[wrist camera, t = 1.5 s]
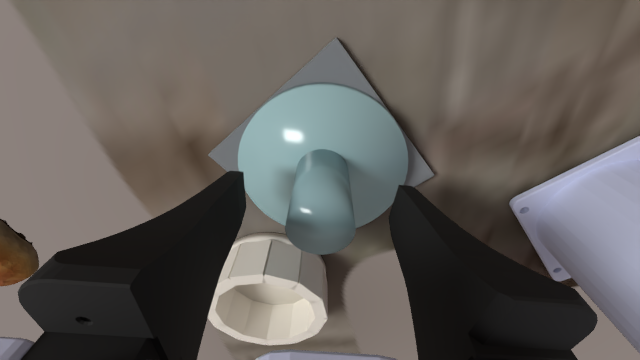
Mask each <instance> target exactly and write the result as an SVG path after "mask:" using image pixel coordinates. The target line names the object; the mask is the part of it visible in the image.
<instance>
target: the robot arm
mask: <svg viewBox="0 0 640 360" xmlns="http://www.w3.org/2000/svg"><path fill="white" fill-rule="evenodd" d="M509 205H510V207H511V209H512V211H513V212H514V214H515V216H516V217H517V219H518V221H519V223H520V224H521V226H522V228H523V229H524V231H525V233H526V235H527V236H528V238H529V240H530V241H531V243H532V245H533V247H534V248H535V250H536V252H537V253H538V255H539V257H540V259H541V260H542V262H543V264H544V266H545V267H546V269H547V271H548V272H549V274H550V276H551V277H552V278H553V280H552V279H550V278H548V277H545V276H543V275H541V274H539V273H537V272H535V271H533V270H531V269H529V268H527V267H525V266H523V265H520V264H519V263H517V262H515V261H513V260H511V259H509V258H507V257H506V256H504V255H502V254H500V253H499V252H497V251H495V250H493V249H492V248H490V247H488V246H487V245H485V244H484V243H482V242H481V241H479V240H478V239H476V238H475V237H473V236H472V235H470V234H469V233H467V232H466V231H465V230H463V229H462V228H461V227H459V226H458V225H457V224H456V223H454V222H453V221H452V220H450V219H449V218H448V217H447V216H446V215H444V214H443V213H442V212H441V211H440V210H439V209H437V208H436V207H435V206H434V205H433V204H432V203H431V202H430V201H429V200H427V199H426V198H425V197H424V196H423V195H422V194H421V193H420V192H419V191H417V190H416V189H415V188H414V187H413V186H407V185H399V186H398V189H397V192H396V196H395V199H394V202H393V206H392V209H391V212H390V216H389V224H390V230H391V236H392V240H393V243H394V247H395V250H396V253H397V257H398V259H399V263H400V266H401V269H402V273H403V276H404V279H405V283H406V287H407V292H408V297H409V302H410V307H411V313H412V319H413V325H414V331H415V338H416V345H417V352H418V360H578V359H577V358H576V357H575V355H574V354H573V352H572V351H571V349H572V348H573V347H574V346H575V345H577V344H578V343H579V342H580V341H582V340H583V339H584V338H585V337H587V336H588V335H589V334H590V333H591V332H592V331H593V330H594V328H595V326H596V324H597V315H596V313H595V312H594V311H593V310H592V309H591V308H590V306H589V305H588V304H587V303H586V302H585V300H584V299H583V298H582V297H581V296H580V295H579V293H578V292H577V291H576V290H575V289H573V288H571V287H569V286H566V285H564V284H562V283H559V282H557V281H563V280H566V279H569V278H571V277H572V278H573V279H574V281H575V282H576V283H577V284H578V285H579V286H580V287H581V288H582V289H583V291H584V292H585V293H586V294H587V295H588V296H589V297H590V298H591V300H592V301H593V302H594V303H595V304H596V305H597V306H598V307H599V309H600V310H601V311H602V312H603V313H604V314H605V315H606V316H607V318H608V319H609V320H610V321H611V322H612V323H613V324H614V325H615V327H616V328H617V329H618V330H619V331H620V332H621V333H622V334H623V336H624V337H626V339H627V340H628V341H629V342H630V343H631V345H632V346H633V347H634V348H635V349H636V350H637V351H638V352H639V353H640V136H638V137H636V138H634V139H632V140H630V141H628V142H626V143H624V144H622V145H619V146H617V147H615V148H613V149H611V150H609V151H607V152H605V153H603V154H601V155H599V156H597V157H595V158H593V159H591V160H589V161H587V162H585V163H583V164H581V165H579V166H577V167H575V168H572V169H570V170H568V171H566V172H564V173H562V174H560V175H558V176H556V177H554V178H552V179H550V180H548V181H546V182H544V183H542V184H540V185H538V186H536V187H534V188H532V189H530V190H528V191H526V192H523V193H521V194H519V195H517V196H515V197H514V198H512V199H511V201H510V203H509ZM522 208H523V209H522ZM245 209H246V198H245V185H244V173H243V172H241V171H229V172H227V173H226V174H224V175H223V176H222V177H220V178H219V179H218V180H216V181H215V182H213V183H212V184H211V185H209V186H208V187H206V188H205V189H204V190H202V191H201V192H199V193H198V194H196V195H195V196H193V197H192V198H190V199H188V200H187V201H185V202H184V203H182V204H180V205H179V206H177V207H175V208H173V209H172V210H170V211H168V212H166V213H164V214H162V215H160V216H158V217H156V218H154V219H151V220H149V221H147V222H145V223H142V224H140V225H138V226H135V227H133V228H131V229H128V230H125V231H123V232H120V233H117V234H115V235H112V236H109V237H106V238H103V239H100V240H97V241H94V242H90V243H87V244H83V245H80V246H77V247H73V248H70V249H66V250H62V251H59V252H57V253H56V254H55V255H54V256H53V257H52V258H51V259H49V260H48V261H47V262H46V263H45V264H44V265H43V266H42V267H41V268H40V269H39V270H38V271H36V272H35V273H34V274H33V275H32V276H31V277H30V278H29V279H28V280H27V281H26V282H25V283H24V284H22V285H21V287H20V289H19V291H18V296H19V301H20V303H21V305H22V306H23V308H24V309H25V310H26V311H27V312H28V314H29V315H30V316H31V317H32V318H33V319H34V320H35V321H36V322H37V324H38V325H39V326H40V327H41V328H42V329H43V330H44V331H45V332H44V333H43V334H42V335H41V336H40V338H39V339H38V340H37V341H36V342H35V343H34V342H32V341H30V340H27V339H22V338H10V337H0V360H197V356H198V352H199V347H200V344H201V340H202V336H203V332H204V329H205V325H206V321H207V317H208V314H209V310H210V307H211V304H212V300H213V297H214V293H215V290H216V287H217V284H218V280H219V277H220V274H221V271H222V269H223V266H224V264H225V262H226V259H227V257H228V255H229V252H230V250H231V248H232V245H233V243H234V241H235V239H236V236H237V234H238V231H239V229H240V227H241V224H242V220H243V217H244V213H245ZM255 360H396V359H395V358H390V357H385V356H380V355H369V354H353V353H338V352H322V351H306V350H276V351H271V352H268V353H266V354H264V355H261V356H259V357H258V358H257V359H255Z"/></svg>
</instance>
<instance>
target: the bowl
mask: <svg viewBox="0 0 640 360" xmlns="http://www.w3.org/2000/svg"><path fill="white" fill-rule="evenodd" d="M208 318H209V320H210V321H211V323H212V324H213V325H214V327H215V326H216V328H217V329H219V330H221V331H223V332H225V333H227V334H229V335H230V336H232V337H234V338H236V339H239V340H242V341H247V342H252V343H257V344H262V345H266V344H267V345H281V344H294V343H297V342H300V341H302V340H304V339H307V338H309V337H312V336H314V335H316V334H317V333H318V332H319V331H320V329H321V328H322V326H323V325H324V323H325V322H326V320H327V318H328V283H327V279H326V266H325V263H324V260H323V258H322V257H321V255H319V254H311V253H307V252H305V251H302V250H300V249H298V248H297V247H296V246H294V245H293V244H292V243H291V242H290V240H289V239H288V237H287V235H285V234H280V233H268V232H265V233H255V234H250V235H247V236H244V237H241V238H239V239H237V240H236V241H234V243H233V245H232V248H231V250H230V252H229V255H228V257H227V259H226V262H225V264H224V266H223V269H222V271H221V274H220V277H219V280H218V284H217V287H216V290H215V293H214V297H213V300H212V304H211V307H210V310H209V314H208Z"/></svg>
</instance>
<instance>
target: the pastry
mask: <svg viewBox="0 0 640 360" xmlns="http://www.w3.org/2000/svg"><path fill="white" fill-rule="evenodd" d="M38 267H39V260H38V255H37V252H36V250H35V249H34V247H33V246H32V242H29V241H27V240H26V237H25V236H24V235H23V234H22V233H18V232H16V231H15V230H13V229H12V228H11V227H10V226H9V225H8V224H7V222H6V221H5V220H2V219H0V286H7V285H12V284H15V283H18V282H20V281H22V280H24V279H26V278H28V277H30V276H31V275H32V274H34V273H35V272H36V271H37V269H38Z"/></svg>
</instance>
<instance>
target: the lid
mask: <svg viewBox="0 0 640 360" xmlns="http://www.w3.org/2000/svg"><path fill="white" fill-rule="evenodd" d="M238 168H239V171H241V172H243V173H244V185H245V190H246V192H247V194H248V195H249V197H250V198H251V200H252V201H253V202H254V203H255V204H256V206H257V207H258V208H259V209H260V210H262V211H263V212H264V213H265V214H266V215H268V216H269V217H270V218H272V219H273V220H275V221H277V222H278V223H280V224H282V225H285V231H286V235H287V237H288V239H289V240H290V242H291V243H292V244H293V245H294V246H296V247H297V248H298V249H300V250H302V251H305V252H307V253H311V254H319V255H323V254H331V253H335V252H338V251H340V250H342V249H344V248H345V247H346V246H348V245H349V244H350V243H351V241H352V240H353V238H354V236H355V231H356V228H358V227H361V226H363V225H365V224H367V223H369V222H371V221H373V220H374V219H376V218H377V217H379V216H380V215H381V214H382V213H384V212H385V211H386V210H387V209H388V208H389V207H390V206H391V205H392V203H393V202H394V199H395V196H396V192H397V189H398V186H399V185H404V182H405V180H406V175H407V171H408V151H407V146H406V142H405V139H404V137H403V134H402V132H401V130H400V128H399V126H398V125H397V123H396V121H395V120H394V118H393V116H392V115H391V114H390V113H389V112H388V110H387V109H386V108H385V107H384V106H383V105H382V104H381V103H380V102H378V101H377V100H376V99H375V98H373V97H372V96H370V95H368V94H367V93H365V92H363V91H361V90H359V89H356V88H354V87H350V86H347V85H344V84H338V83H332V82H315V83H306V84H302V85H298V86H294V87H292V88H289V89H287V90H284V91H282V92H281V93H279V94H277V95H275V96H274V97H272V98H271V99H270V100H268V101H267V102H266V103H265V104H264V105H263V106H262V107H261V108H260V109H259V110H258V111H257V112H256V114H255V115H254V116H253V118H252V119H251V121H250V122H249V124H248V125H247V127H246V129H245V131H244V133H243V135H242V138H241V141H240V145H239V151H238Z"/></svg>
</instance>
